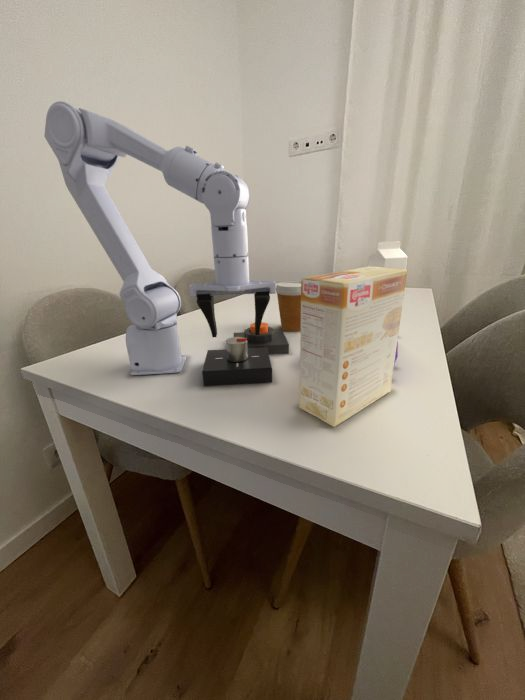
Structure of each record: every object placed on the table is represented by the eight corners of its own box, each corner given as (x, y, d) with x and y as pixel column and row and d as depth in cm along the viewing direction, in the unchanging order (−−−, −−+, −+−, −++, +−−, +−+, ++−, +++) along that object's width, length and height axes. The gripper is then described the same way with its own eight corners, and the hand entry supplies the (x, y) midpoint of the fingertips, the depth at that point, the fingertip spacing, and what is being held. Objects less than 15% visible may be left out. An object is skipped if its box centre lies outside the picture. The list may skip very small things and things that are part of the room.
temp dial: (226, 362, 55) (224, 343, 53) (227, 354, 58) (225, 335, 57) (248, 361, 55) (247, 341, 53) (247, 353, 59) (246, 334, 57)
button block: (233, 356, 65) (232, 339, 64) (234, 341, 74) (233, 325, 73) (288, 353, 66) (288, 336, 64) (282, 338, 75) (282, 323, 74)
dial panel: (203, 386, 53) (202, 370, 52) (209, 363, 62) (207, 349, 61) (272, 382, 53) (272, 366, 52) (267, 360, 63) (266, 346, 62)
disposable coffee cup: (304, 335, 77) (305, 288, 72) (270, 331, 81) (269, 286, 76) (314, 325, 85) (316, 281, 80) (283, 321, 89) (283, 280, 84)
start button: (250, 335, 67) (250, 327, 66) (250, 329, 70) (249, 322, 70) (268, 334, 67) (268, 327, 66) (267, 329, 71) (267, 321, 70)
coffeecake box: (355, 377, 55) (365, 265, 47) (392, 391, 49) (410, 269, 42) (296, 407, 46) (298, 276, 39) (334, 429, 41) (345, 282, 33)
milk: (396, 337, 74) (411, 241, 65) (374, 340, 72) (387, 242, 64) (380, 330, 79) (392, 240, 71) (360, 332, 78) (370, 241, 69)
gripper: (182, 260, 46) (192, 344, 51) (277, 256, 47) (278, 339, 52) (189, 256, 52) (197, 331, 57) (272, 253, 53) (273, 327, 58)
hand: (236, 334), depth 55 cm, fingers open, 7 cm apart
